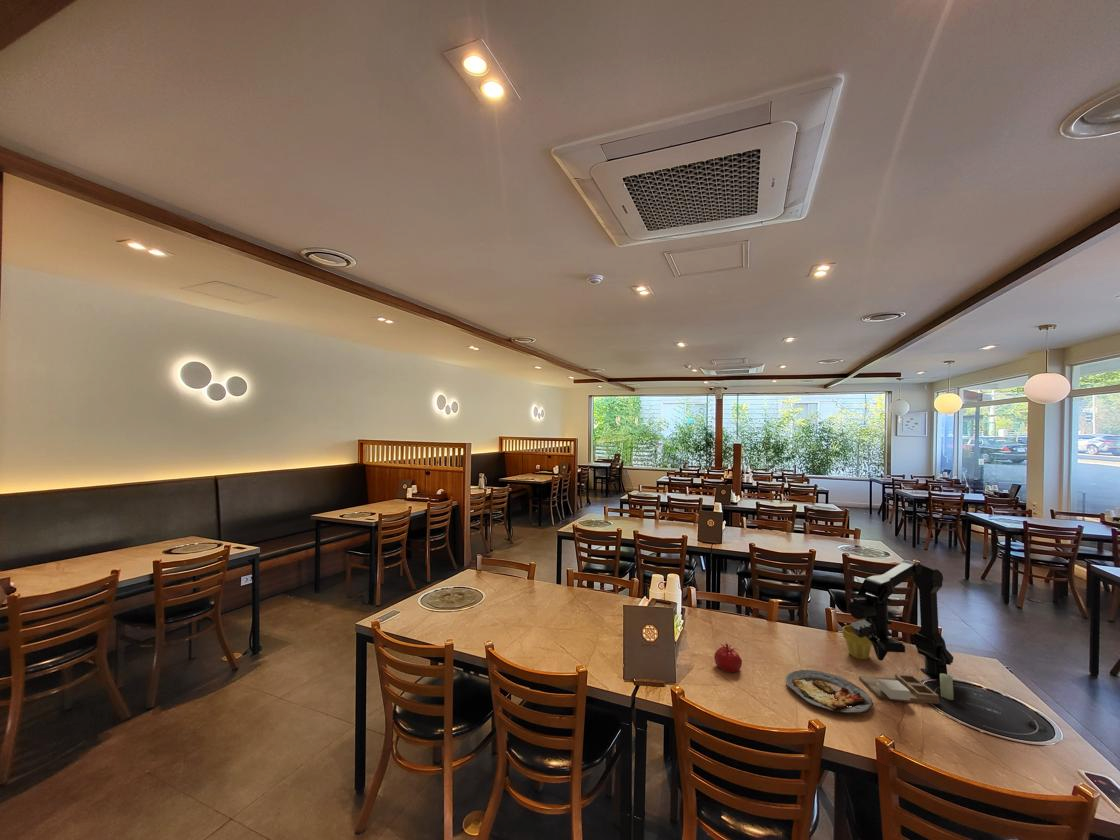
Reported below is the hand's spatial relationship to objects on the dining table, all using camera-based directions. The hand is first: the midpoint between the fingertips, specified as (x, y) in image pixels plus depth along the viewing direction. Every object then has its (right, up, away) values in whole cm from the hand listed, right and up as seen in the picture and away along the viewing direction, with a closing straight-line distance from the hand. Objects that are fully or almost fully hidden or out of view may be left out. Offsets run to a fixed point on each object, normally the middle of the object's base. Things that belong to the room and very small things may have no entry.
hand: (880, 660), depth 147 cm
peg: (+18, -9, -6) cm, 21 cm away
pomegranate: (-49, -11, +13) cm, 52 cm away
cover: (-1, -7, -7) cm, 10 cm away
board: (+4, -9, -3) cm, 10 cm away
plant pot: (+8, -11, +21) cm, 25 cm away
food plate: (-22, -10, -4) cm, 24 cm away
